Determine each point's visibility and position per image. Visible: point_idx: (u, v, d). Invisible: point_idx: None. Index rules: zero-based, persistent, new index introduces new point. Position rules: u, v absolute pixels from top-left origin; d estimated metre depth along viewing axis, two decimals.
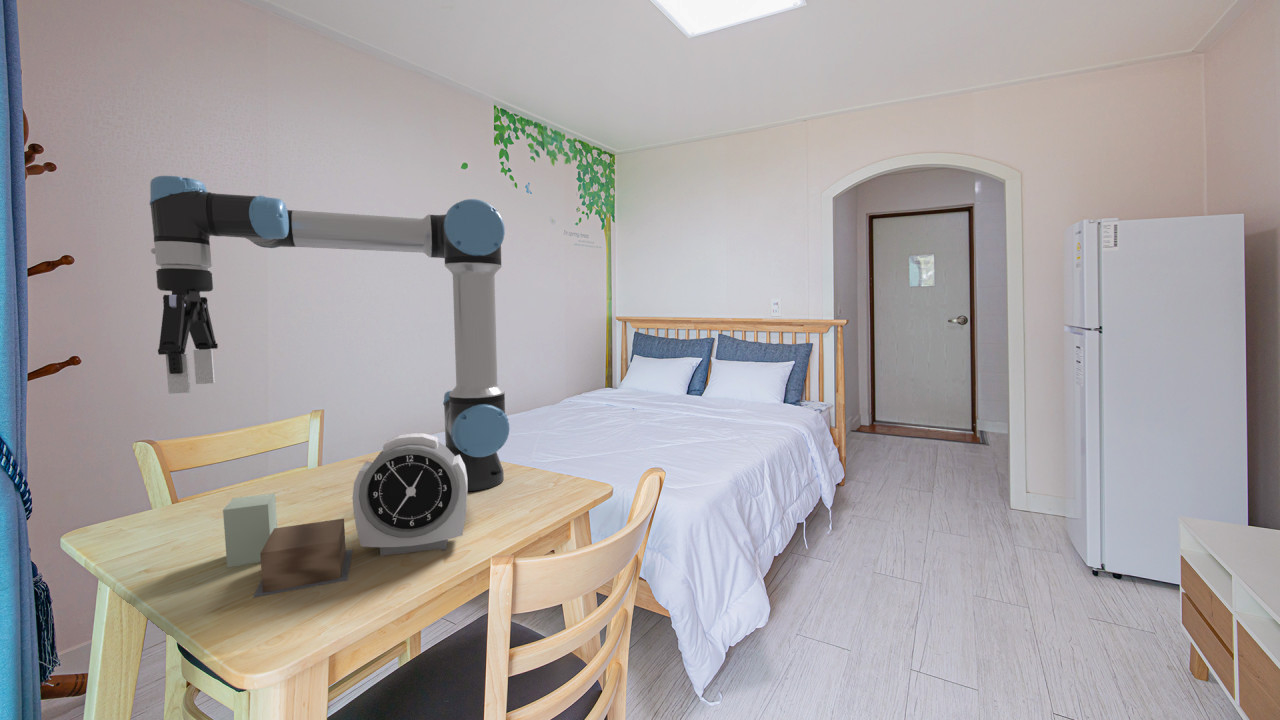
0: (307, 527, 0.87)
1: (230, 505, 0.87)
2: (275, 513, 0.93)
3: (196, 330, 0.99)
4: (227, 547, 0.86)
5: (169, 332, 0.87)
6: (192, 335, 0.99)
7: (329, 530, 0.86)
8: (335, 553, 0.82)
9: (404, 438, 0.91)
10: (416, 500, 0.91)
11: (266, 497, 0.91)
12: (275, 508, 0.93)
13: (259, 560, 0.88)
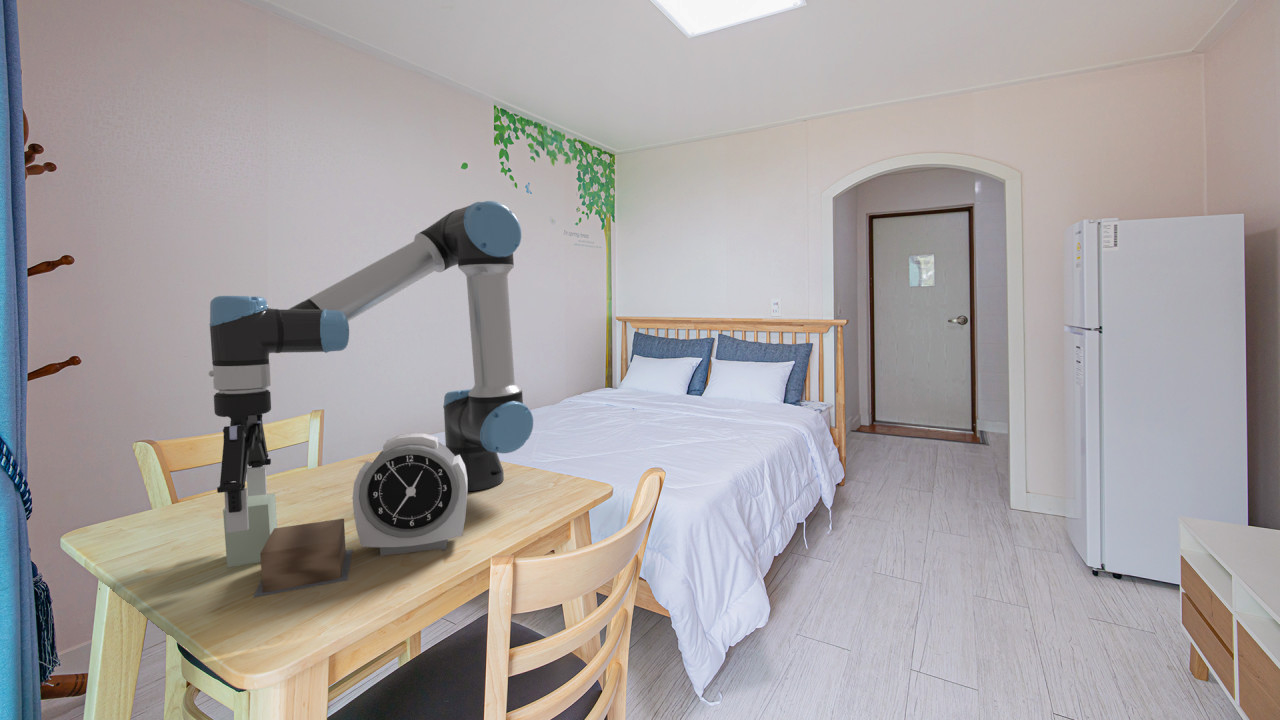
0: (307, 527, 0.87)
1: None
2: (275, 513, 0.93)
3: (251, 450, 0.93)
4: (227, 547, 0.86)
5: (230, 469, 0.80)
6: None
7: (329, 530, 0.86)
8: (335, 553, 0.82)
9: (404, 438, 0.91)
10: (415, 500, 0.91)
11: (266, 497, 0.91)
12: (275, 508, 0.93)
13: (259, 560, 0.88)
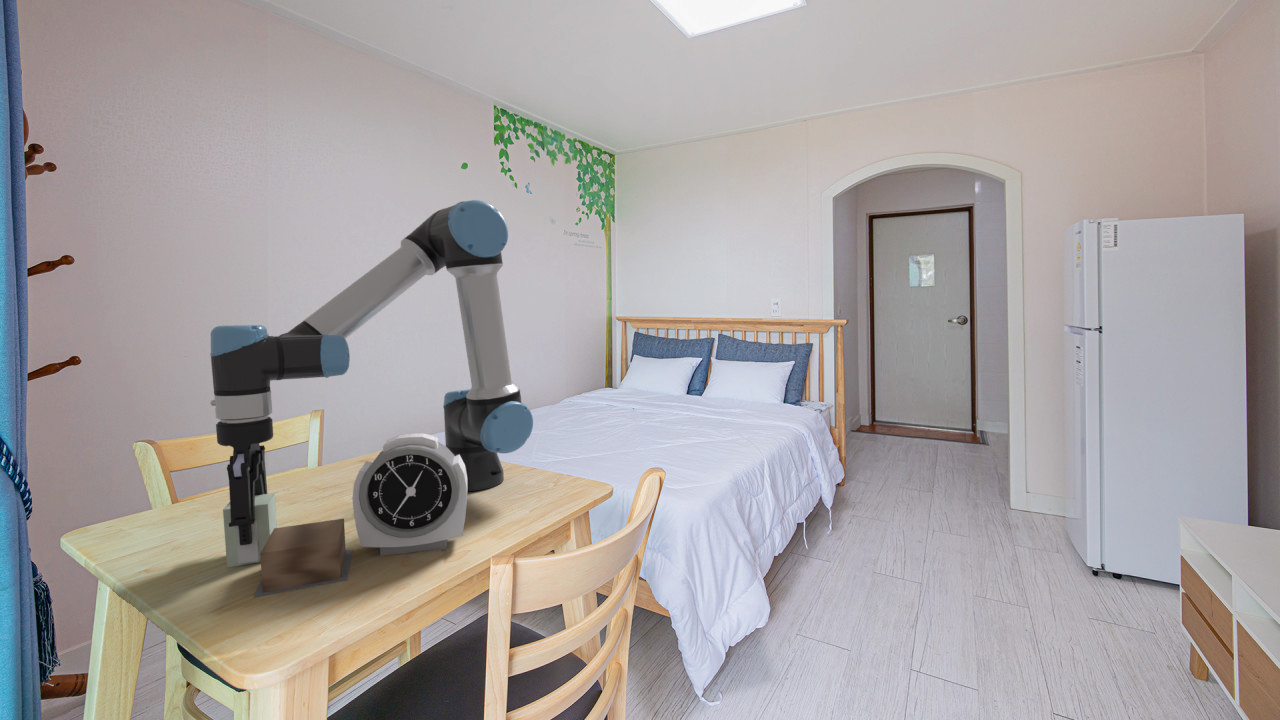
0: (307, 527, 0.87)
1: None
2: (275, 513, 0.93)
3: None
4: (227, 547, 0.86)
5: (239, 507, 0.83)
6: None
7: (329, 530, 0.86)
8: (335, 553, 0.82)
9: (404, 438, 0.91)
10: (415, 500, 0.91)
11: (266, 497, 0.91)
12: (275, 508, 0.93)
13: (259, 560, 0.88)
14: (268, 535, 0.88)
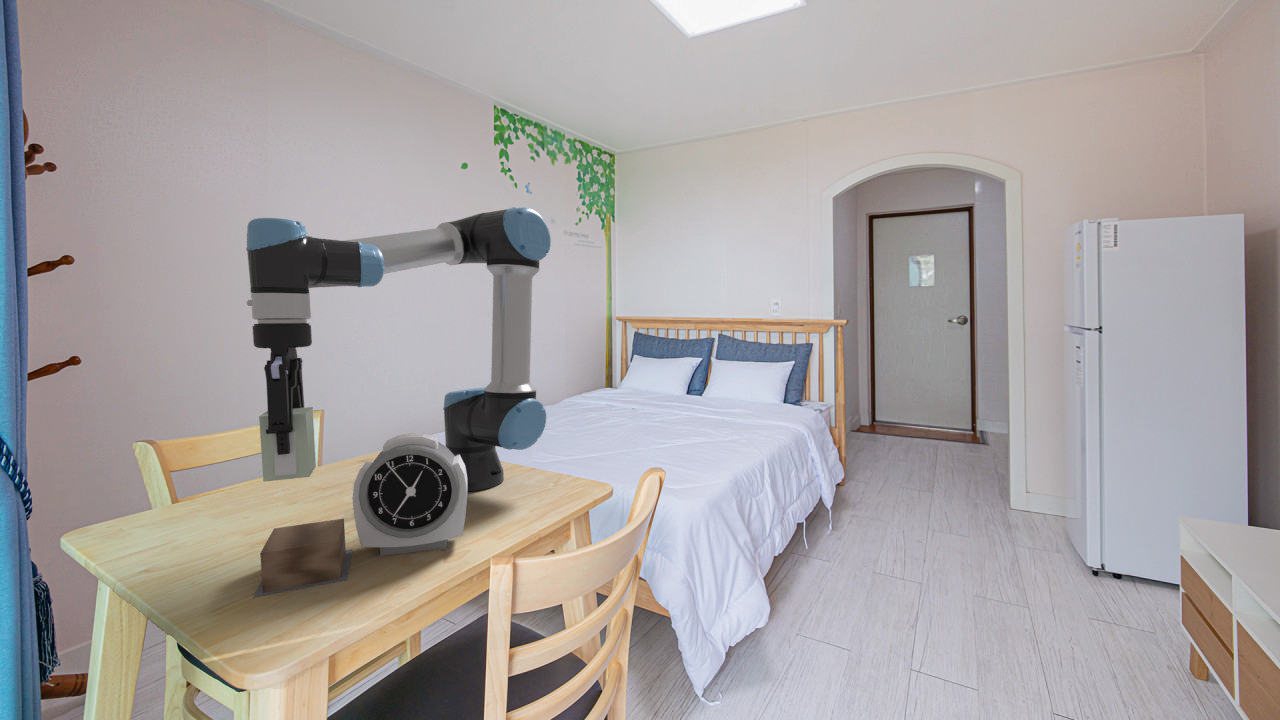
0: (307, 527, 0.87)
1: (266, 413, 0.82)
2: (312, 428, 0.87)
3: None
4: (263, 457, 0.80)
5: (276, 411, 0.78)
6: None
7: (329, 530, 0.86)
8: (335, 553, 0.82)
9: (404, 438, 0.91)
10: (415, 500, 0.91)
11: (303, 409, 0.85)
12: (312, 423, 0.87)
13: (296, 473, 0.82)
14: (306, 447, 0.82)
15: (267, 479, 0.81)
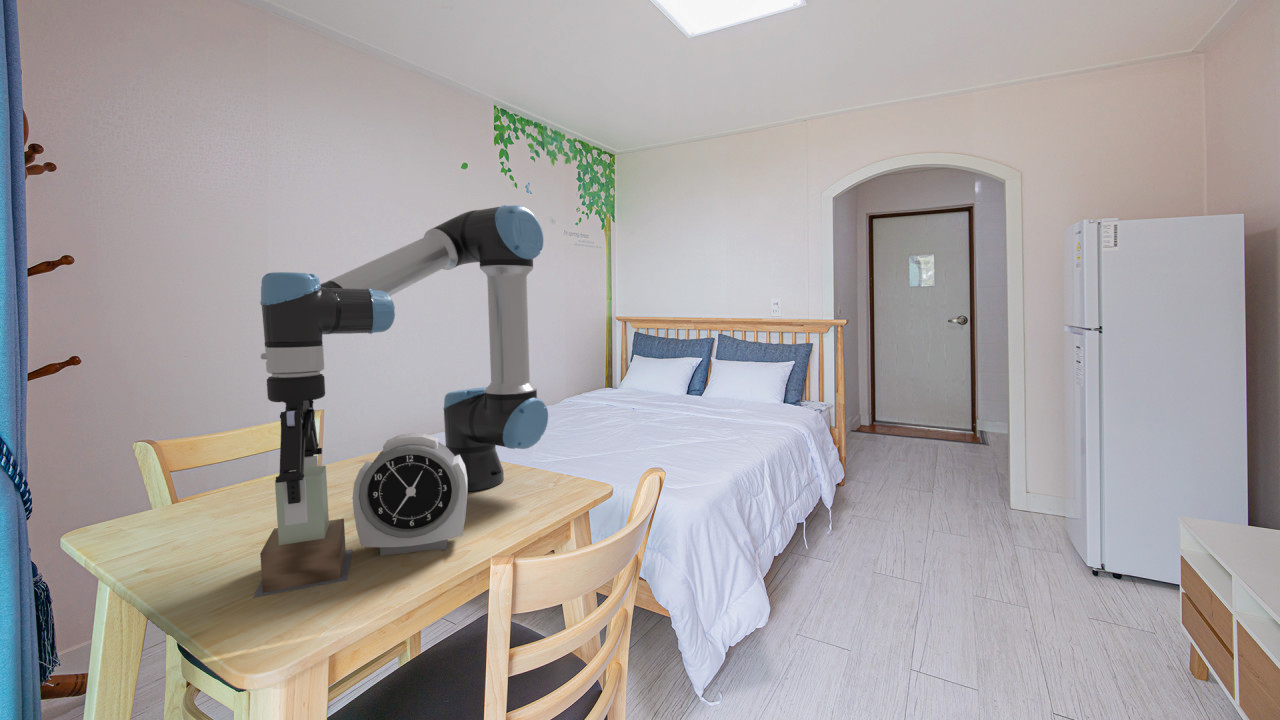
0: None
1: None
2: (326, 487, 0.87)
3: None
4: (278, 521, 0.80)
5: (289, 458, 0.75)
6: None
7: (329, 530, 0.86)
8: (335, 553, 0.82)
9: (404, 438, 0.91)
10: (415, 500, 0.91)
11: (317, 469, 0.85)
12: (326, 481, 0.87)
13: (312, 535, 0.82)
14: (321, 509, 0.82)
15: (283, 542, 0.81)
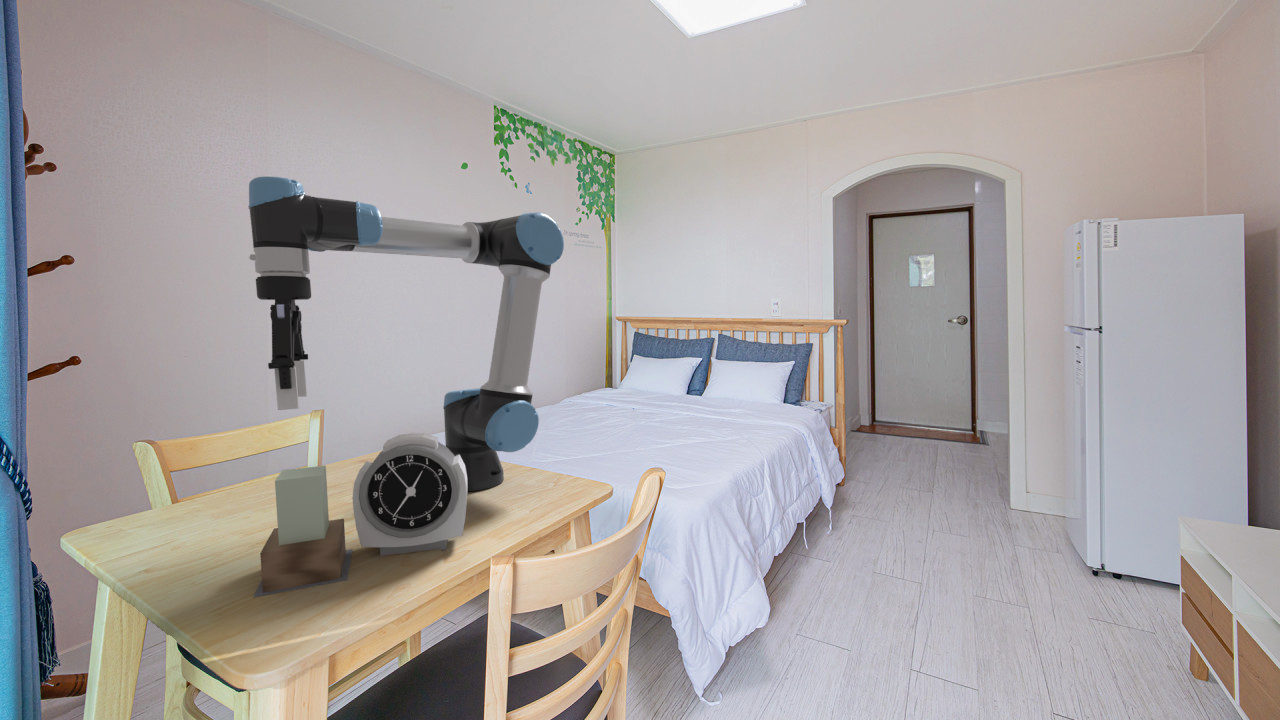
0: None
1: (281, 476, 0.82)
2: (326, 487, 0.87)
3: None
4: (278, 521, 0.80)
5: (280, 345, 0.81)
6: None
7: (329, 530, 0.86)
8: (335, 553, 0.82)
9: (404, 438, 0.91)
10: (415, 500, 0.91)
11: (317, 469, 0.85)
12: (326, 481, 0.87)
13: (312, 535, 0.82)
14: (321, 509, 0.82)
15: (283, 542, 0.81)
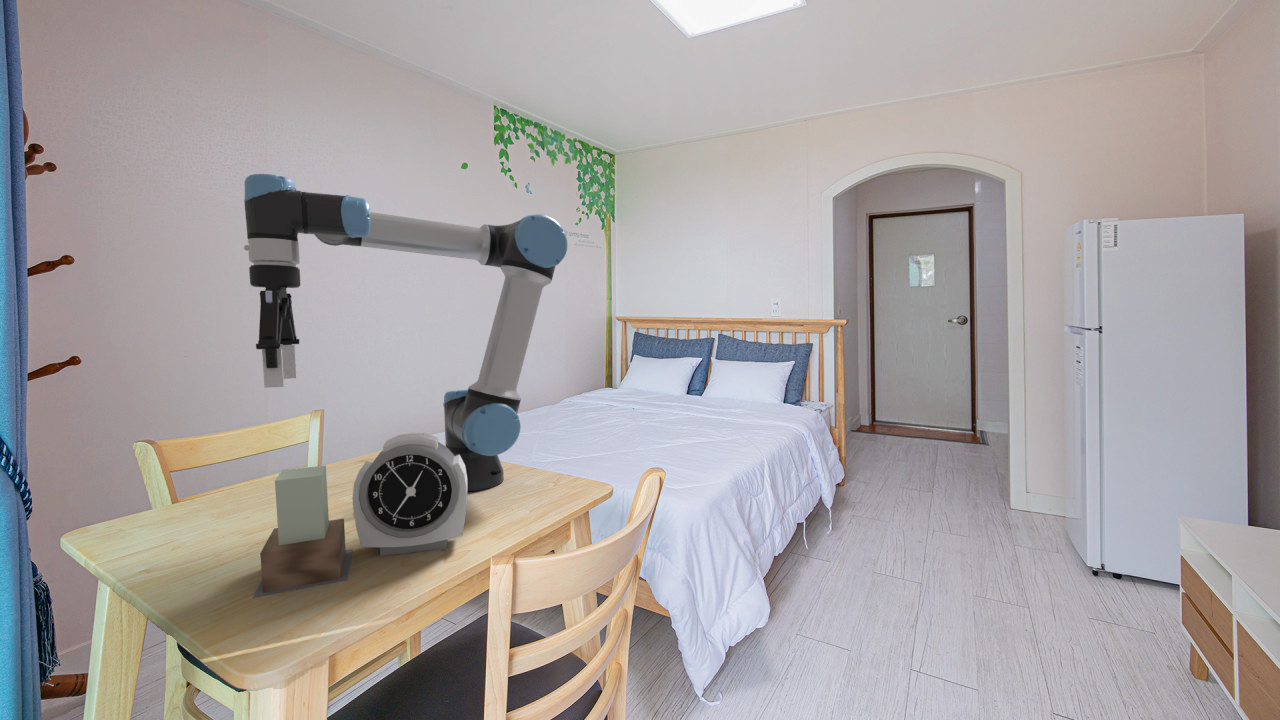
0: None
1: (281, 476, 0.82)
2: (326, 487, 0.87)
3: (282, 326, 1.01)
4: (278, 521, 0.80)
5: (267, 327, 0.89)
6: None
7: (329, 530, 0.86)
8: (335, 553, 0.82)
9: (404, 438, 0.91)
10: (415, 500, 0.91)
11: (317, 469, 0.85)
12: (326, 481, 0.87)
13: (312, 535, 0.82)
14: (321, 509, 0.82)
15: (283, 542, 0.81)
